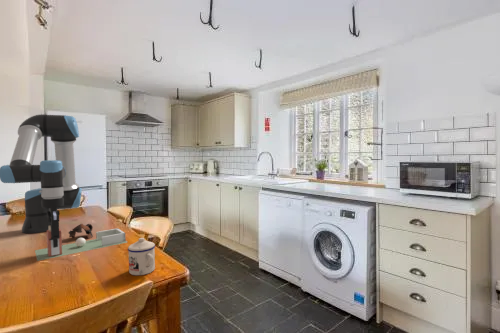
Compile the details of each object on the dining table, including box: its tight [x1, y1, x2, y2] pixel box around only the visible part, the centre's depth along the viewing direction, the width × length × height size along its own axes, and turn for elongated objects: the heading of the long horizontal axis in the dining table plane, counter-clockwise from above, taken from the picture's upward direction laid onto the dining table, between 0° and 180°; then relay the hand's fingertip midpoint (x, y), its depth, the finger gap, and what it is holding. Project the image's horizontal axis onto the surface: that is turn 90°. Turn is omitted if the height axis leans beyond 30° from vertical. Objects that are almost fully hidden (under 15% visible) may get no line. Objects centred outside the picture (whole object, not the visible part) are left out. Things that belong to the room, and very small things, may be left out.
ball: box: [74, 237, 87, 247], centre depth 124 cm, size 4×4×4 cm
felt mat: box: [34, 238, 128, 262], centre depth 125 cm, size 16×34×1 cm, turn 131°
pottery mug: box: [67, 223, 94, 240], centre depth 138 cm, size 12×10×8 cm
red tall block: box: [46, 225, 63, 257], centre depth 114 cm, size 4×4×12 cm
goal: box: [95, 228, 127, 246], centre depth 132 cm, size 12×10×4 cm
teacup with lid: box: [127, 237, 156, 276], centre depth 97 cm, size 12×9×12 cm
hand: (54, 252), depth 114 cm, fingers closed on red tall block, 4 cm apart
